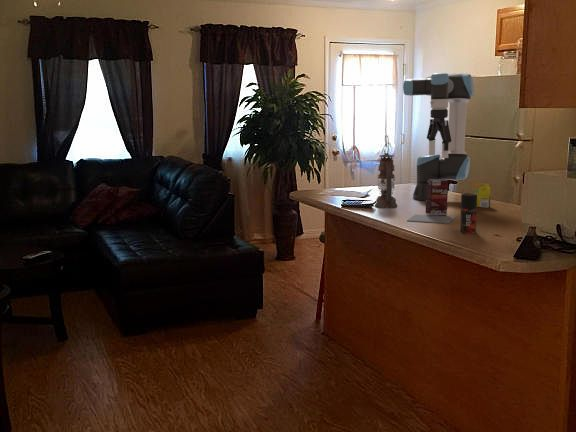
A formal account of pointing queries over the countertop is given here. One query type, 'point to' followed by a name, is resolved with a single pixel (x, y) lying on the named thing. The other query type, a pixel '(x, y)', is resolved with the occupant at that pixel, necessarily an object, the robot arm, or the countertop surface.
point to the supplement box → (436, 197)
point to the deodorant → (468, 213)
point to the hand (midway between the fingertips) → (438, 156)
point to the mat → (431, 219)
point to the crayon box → (482, 195)
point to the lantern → (386, 182)
